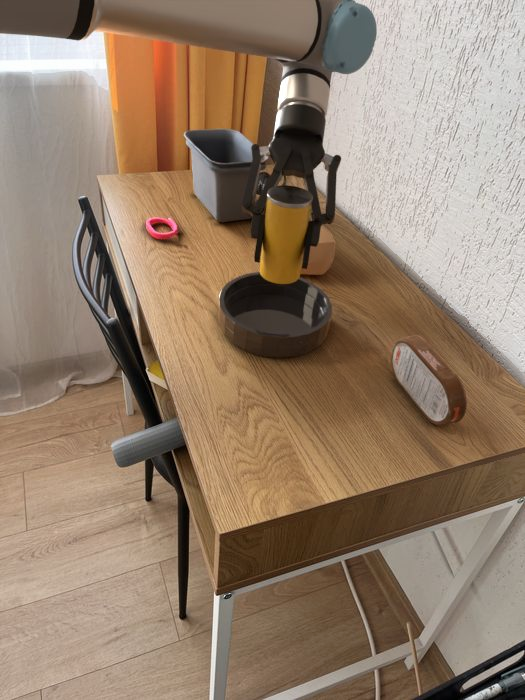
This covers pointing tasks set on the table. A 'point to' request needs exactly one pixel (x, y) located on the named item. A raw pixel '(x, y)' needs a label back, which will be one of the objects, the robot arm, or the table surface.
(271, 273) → the corn can
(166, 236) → the fitness band
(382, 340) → the table surface
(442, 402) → the tin
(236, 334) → the pan
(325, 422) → the table surface
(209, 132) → the storage bin
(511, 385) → the table surface
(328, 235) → the squash
